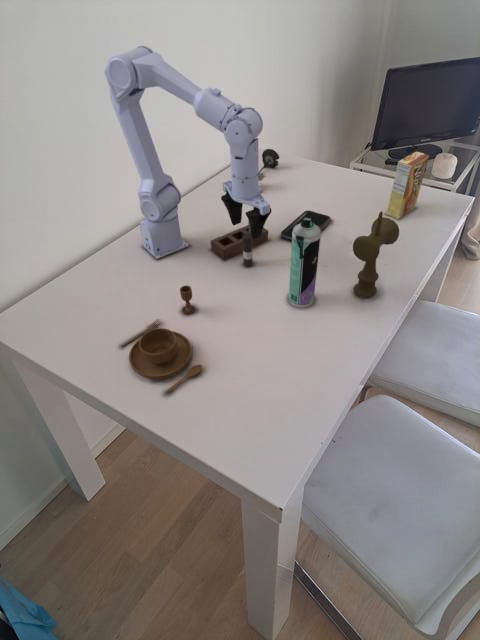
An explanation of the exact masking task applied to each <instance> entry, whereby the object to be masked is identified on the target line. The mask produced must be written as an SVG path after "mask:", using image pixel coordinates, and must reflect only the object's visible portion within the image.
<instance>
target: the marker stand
mask: <svg viewBox="0 0 480 640" xmlns="http://www.w3.org/2000/svg"><path fill="white" fill-rule="evenodd" d="M244 234H251V233H249V224H247V225H245V226H242V227H239V228H237V229H235V230H233V231H230V232H228V233H226V234H223V235H221V236H219V237H216V238H213V239H211V240H210V250H211V252H213V253H214V254H215V255H216V256H217V257H219V258H220V259H222V260H223V261H226V260H229V259H230V258H232V257H234V256H237V255H239V254H241V253H243V238H242V236H243V235H244ZM265 242H269V230H268V229H266V228H265V227H263V230H262V234H261V237H258V238H256V239H253V238H252V248H255V247H257V246H259V245H261V244H264V243H265Z"/></svg>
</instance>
